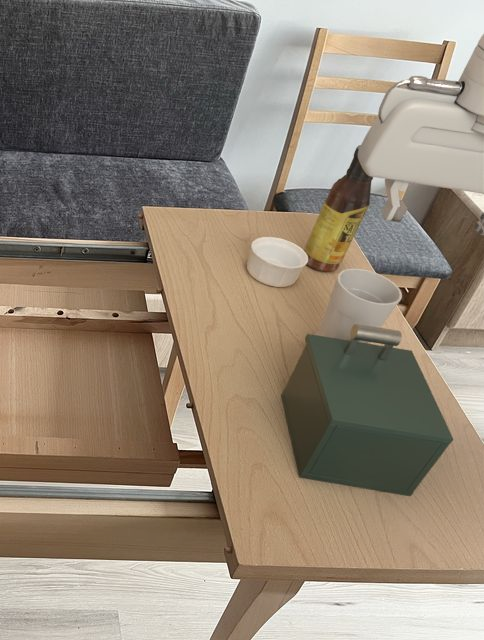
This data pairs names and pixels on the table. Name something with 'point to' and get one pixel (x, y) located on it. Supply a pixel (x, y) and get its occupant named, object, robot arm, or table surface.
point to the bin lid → (375, 385)
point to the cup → (358, 303)
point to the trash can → (350, 443)
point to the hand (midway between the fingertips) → (436, 225)
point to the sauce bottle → (339, 218)
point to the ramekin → (276, 261)
